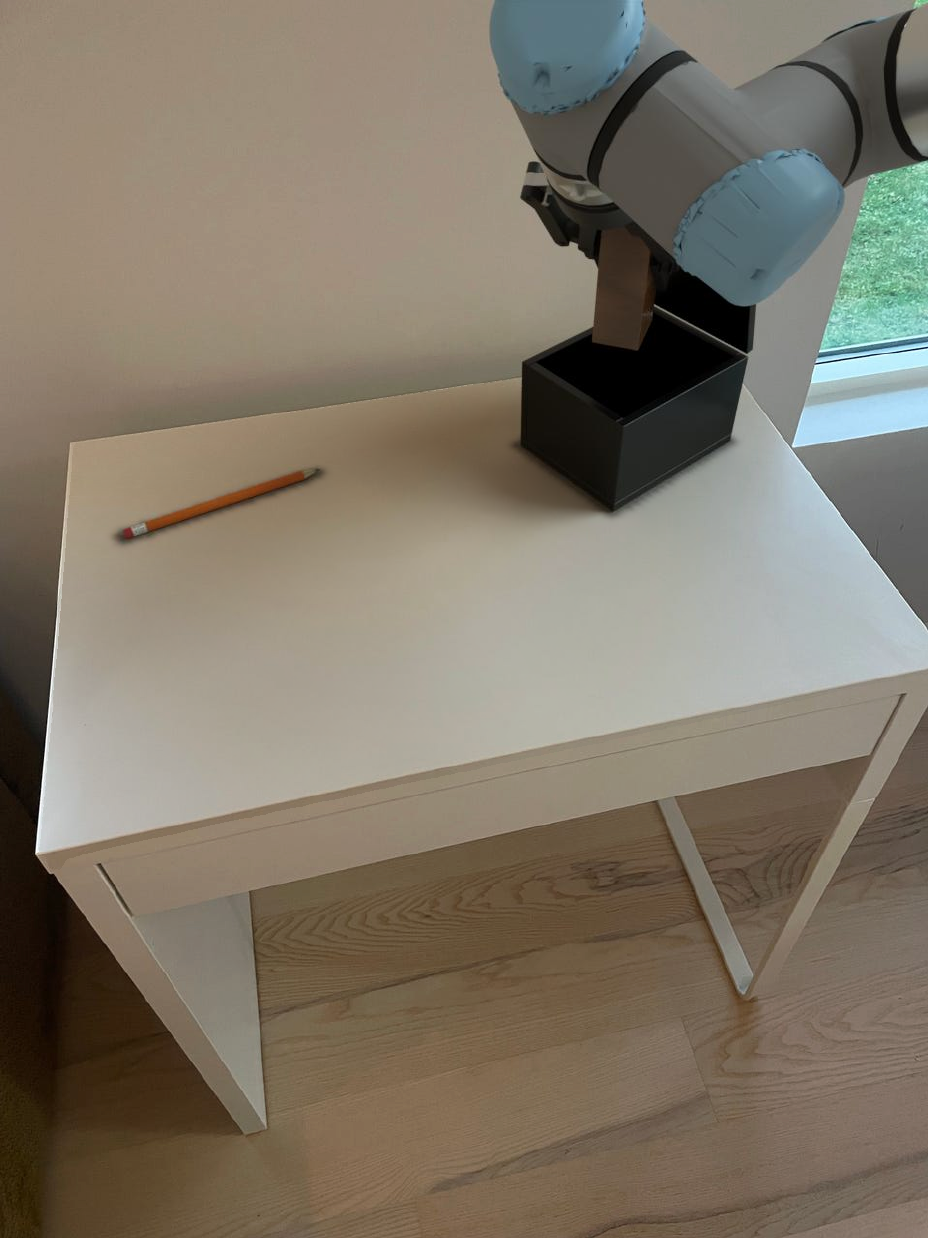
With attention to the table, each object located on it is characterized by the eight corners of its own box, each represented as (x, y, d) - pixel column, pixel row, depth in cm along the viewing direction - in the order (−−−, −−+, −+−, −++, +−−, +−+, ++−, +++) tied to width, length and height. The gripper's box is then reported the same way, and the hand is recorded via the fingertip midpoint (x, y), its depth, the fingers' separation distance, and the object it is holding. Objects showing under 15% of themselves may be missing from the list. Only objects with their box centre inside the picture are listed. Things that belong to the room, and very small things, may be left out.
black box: (613, 512, 87) (623, 426, 80) (519, 445, 94) (521, 361, 87) (730, 441, 94) (749, 356, 87) (634, 383, 100) (645, 300, 94)
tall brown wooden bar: (652, 320, 84) (668, 195, 76) (637, 350, 81) (653, 223, 73) (607, 312, 86) (619, 188, 77) (591, 342, 82) (602, 216, 74)
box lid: (758, 182, 73) (821, 136, 75) (635, 131, 80) (695, 90, 81) (746, 354, 86) (800, 312, 88) (642, 298, 93) (694, 260, 95)
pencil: (124, 535, 87) (122, 527, 86) (320, 469, 92) (318, 462, 92) (127, 540, 87) (124, 533, 86) (323, 474, 92) (322, 467, 91)
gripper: (459, 190, 63) (532, 297, 86) (722, 229, 59) (726, 331, 81) (487, 73, 62) (553, 211, 85) (754, 104, 58) (749, 241, 81)
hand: (637, 270), depth 83 cm, fingers closed on tall brown wooden bar, 4 cm apart
